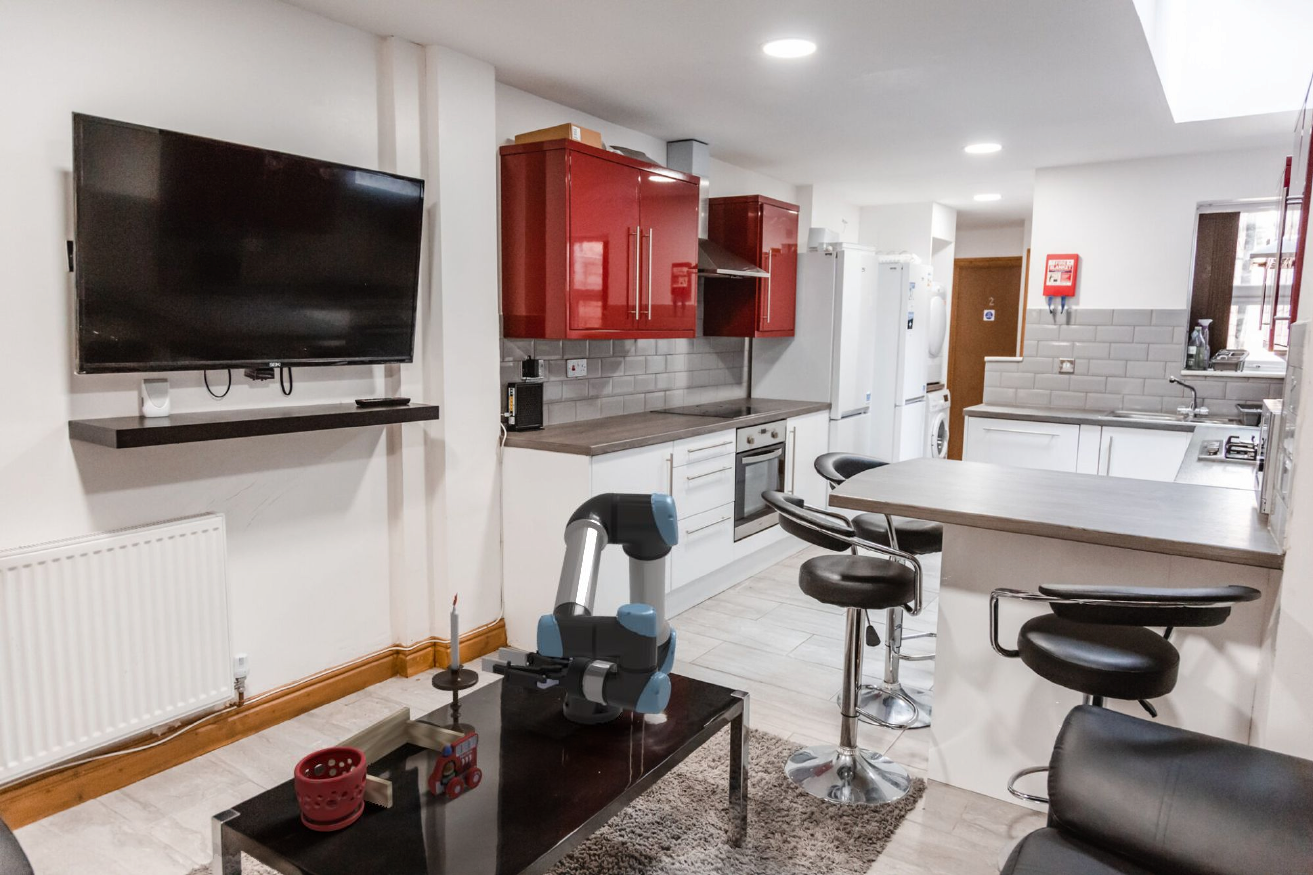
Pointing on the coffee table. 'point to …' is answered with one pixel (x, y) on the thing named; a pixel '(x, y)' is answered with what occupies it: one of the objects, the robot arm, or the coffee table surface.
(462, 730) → the candlestick
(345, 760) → the plant pot
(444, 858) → the coffee table surface
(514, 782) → the coffee table surface
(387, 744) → the box
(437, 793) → the toy fire truck
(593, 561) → the robot arm
